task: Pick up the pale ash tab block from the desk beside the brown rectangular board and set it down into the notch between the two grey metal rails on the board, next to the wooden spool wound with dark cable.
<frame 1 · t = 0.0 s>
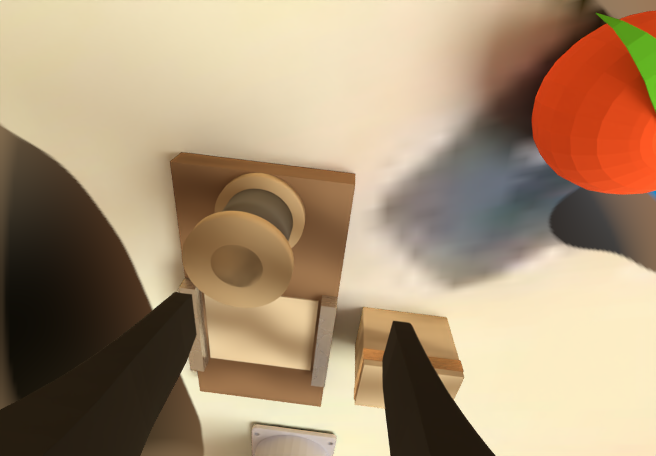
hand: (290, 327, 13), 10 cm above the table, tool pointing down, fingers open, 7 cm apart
brown rectangular board: (265, 295, 26), on the table
tab block: (399, 331, 27), on the table
clementine: (576, 83, 18), on the table
spool: (262, 213, 21), resting on brown rectangular board
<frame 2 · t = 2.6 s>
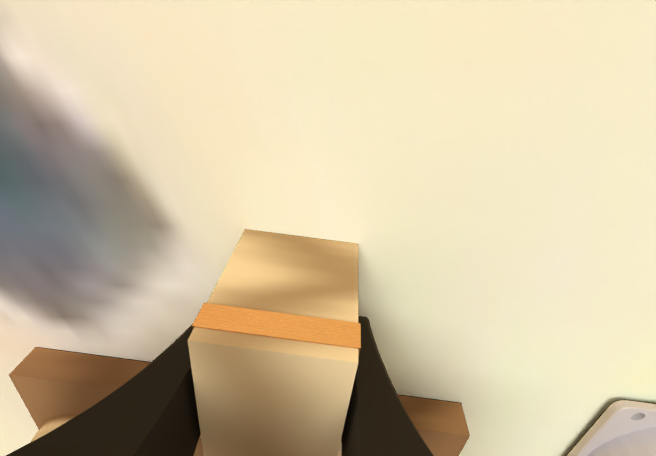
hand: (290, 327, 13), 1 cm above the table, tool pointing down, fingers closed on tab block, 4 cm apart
brown rectangular board: (248, 434, 19), on the table
tab block: (296, 300, 14), on the table, touching gripper
spool: (92, 444, 18), resting on brown rectangular board
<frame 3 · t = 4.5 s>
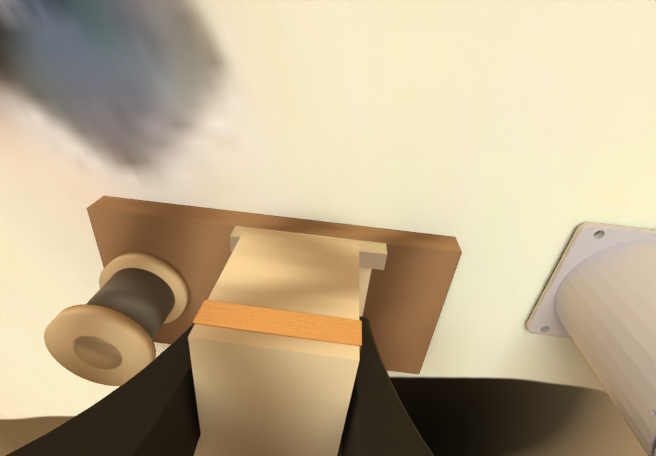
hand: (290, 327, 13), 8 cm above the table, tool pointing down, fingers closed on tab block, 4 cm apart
brown rectangular board: (276, 284, 23), on the table
tab block: (296, 298, 14), point 7 cm above the table, touching gripper
spool: (148, 285, 22), resting on brown rectangular board
when the fingers open (4 cm above the table, at t = 6.5 s): tab block drops 1 cm, resting on brown rectangular board.
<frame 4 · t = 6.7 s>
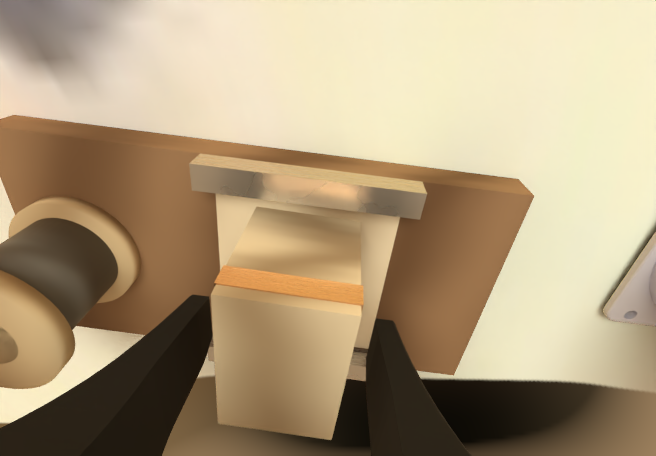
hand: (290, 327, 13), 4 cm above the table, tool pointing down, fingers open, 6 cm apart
brown rectangular board: (263, 250, 17), on the table
tab block: (301, 275, 15), point 2 cm above the table, touching brown rectangular board
spool: (82, 248, 16), resting on brown rectangular board
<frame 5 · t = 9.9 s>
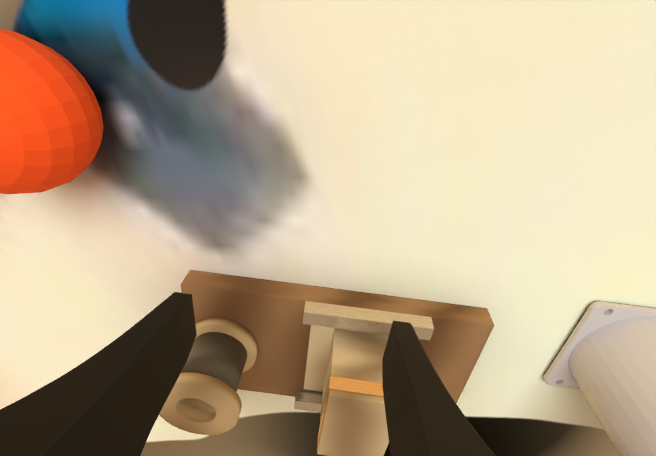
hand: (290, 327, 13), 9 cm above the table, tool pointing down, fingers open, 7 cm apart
brown rectangular board: (330, 340, 27), on the table
tab block: (357, 360, 25), point 2 cm above the table, touching brown rectangular board
clementine: (63, 105, 19), on the table
spool: (223, 343, 25), resting on brown rectangular board
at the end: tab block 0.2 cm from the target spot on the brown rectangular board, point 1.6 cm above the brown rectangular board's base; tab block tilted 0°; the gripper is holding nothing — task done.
